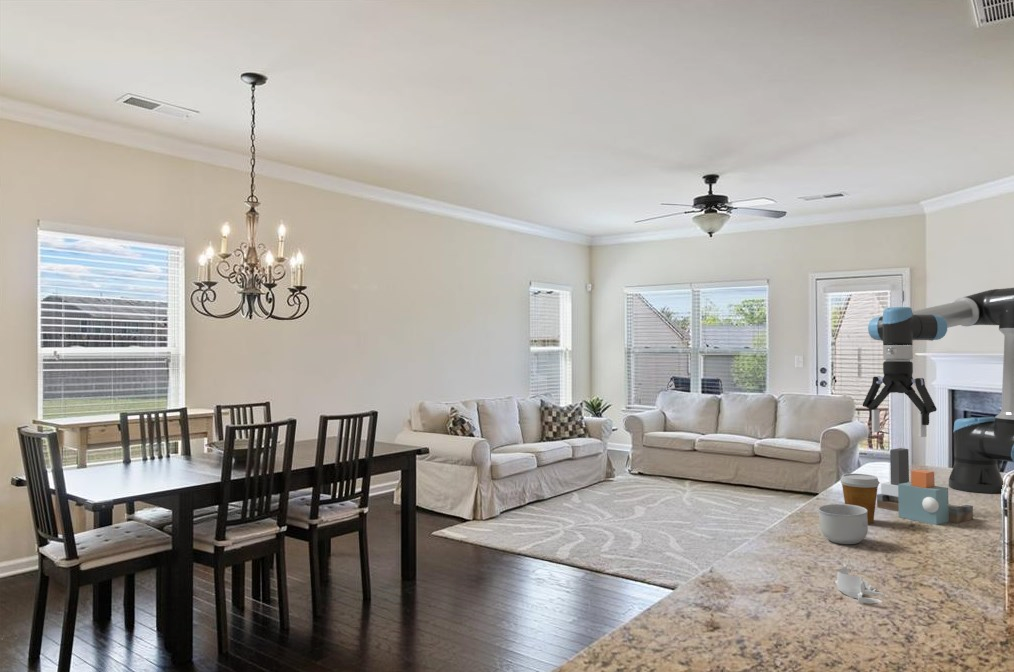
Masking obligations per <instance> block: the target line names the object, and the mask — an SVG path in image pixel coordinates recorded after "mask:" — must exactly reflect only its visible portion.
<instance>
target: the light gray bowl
mask: <svg viewBox="0 0 1014 672" xmlns="http://www.w3.org/2000/svg"><path fill="white" fill-rule="evenodd" d="M817 510H818V518H819V527H820V532H821V534H822V535H823V536H824V537H825V538H827V539H828V541H830V542H832V543H835V544H840V545H855V544H859V543H860V542H861V541H863V540H864V539H866V537H867V535H868V532H869V531H868V529H869V528H868V526H869V524H868V519H867V513H868V511H867V509H866V508H863V507H860V506H856V505H849V504H845V503H833V502H827V503H826V504H824V505H821V506H819V507H818V509H817Z"/></svg>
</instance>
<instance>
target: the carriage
mask: <svg viewBox="0 0 1014 672" xmlns="http://www.w3.org/2000/svg"><path fill="white" fill-rule="evenodd" d="M889 451H890V454H889V456H890V457H889V459H890V460H889V461H890V481H887V482H882V483H880V491H881V493H880V494H885V495H891V496H896V497H898V484H902V483H907V482H910V468H909V467H910V466H909V463H910V461H909V460H910V459H909V458H910V457H909V451H910V450H909V449H908V448H902V447H900V448H892V449H890V450H889Z"/></svg>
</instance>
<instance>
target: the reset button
mask: <svg viewBox="0 0 1014 672" xmlns="http://www.w3.org/2000/svg"><path fill="white" fill-rule="evenodd" d="M910 482H911V486H915V487H921V488H931V487H935V486H936V485H935V471H933V470H926V469H913V470H910Z"/></svg>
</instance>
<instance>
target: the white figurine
mask: <svg viewBox="0 0 1014 672" xmlns="http://www.w3.org/2000/svg"><path fill="white" fill-rule="evenodd" d="M842 564H843V566H842V568H840V569H838V570H837V576H836V578H837V580H834V583H835V584H836V589H837V590H838V591H840V592H841V593H842V594H844V595H845V596H848V597H849V598H853V599H856V600H858V603H859V604H872V605H873V604H877V603H878V602H879V603H883V600H881V599H877V598H871V597H864V595H872V596H885V594H884V592H880V591H879V589H878V588H873V586H872V585H871V584H870V583H868V582H867V581H865V580H864V579H863V578H862V576H858V575H857V574H855V575H852V574H849V572H848V566H847V564H846V563H845V562H843V563H842Z"/></svg>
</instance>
